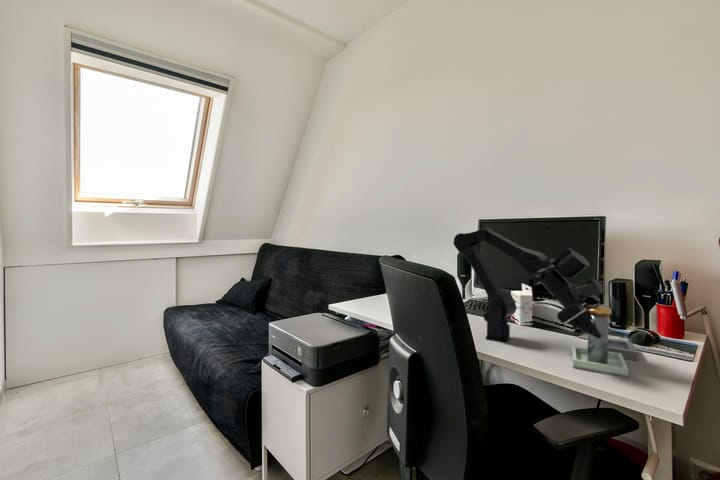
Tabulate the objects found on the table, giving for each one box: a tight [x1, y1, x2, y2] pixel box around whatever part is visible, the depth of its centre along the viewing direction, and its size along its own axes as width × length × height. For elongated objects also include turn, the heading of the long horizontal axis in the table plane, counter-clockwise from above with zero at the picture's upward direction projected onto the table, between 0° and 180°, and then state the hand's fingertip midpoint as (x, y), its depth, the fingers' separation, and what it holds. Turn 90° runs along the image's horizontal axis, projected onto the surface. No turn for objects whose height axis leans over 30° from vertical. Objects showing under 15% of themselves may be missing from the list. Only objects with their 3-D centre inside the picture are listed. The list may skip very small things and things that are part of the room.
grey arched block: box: [532, 300, 582, 332], centre depth 126 cm, size 17×5×10 cm, turn 25°
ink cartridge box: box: [510, 283, 533, 326], centre depth 130 cm, size 9×5×15 cm, turn 179°
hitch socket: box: [608, 338, 639, 362], centre depth 99 cm, size 10×10×2 cm
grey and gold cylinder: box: [586, 305, 612, 365], centre depth 90 cm, size 6×6×15 cm
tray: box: [571, 345, 629, 379], centre depth 91 cm, size 12×12×2 cm
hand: (604, 334), depth 89 cm, fingers open, 7 cm apart
